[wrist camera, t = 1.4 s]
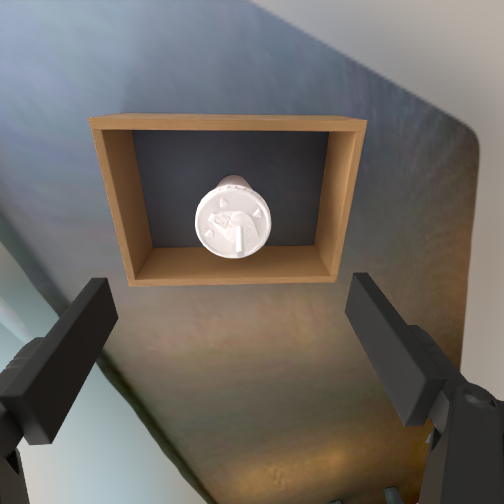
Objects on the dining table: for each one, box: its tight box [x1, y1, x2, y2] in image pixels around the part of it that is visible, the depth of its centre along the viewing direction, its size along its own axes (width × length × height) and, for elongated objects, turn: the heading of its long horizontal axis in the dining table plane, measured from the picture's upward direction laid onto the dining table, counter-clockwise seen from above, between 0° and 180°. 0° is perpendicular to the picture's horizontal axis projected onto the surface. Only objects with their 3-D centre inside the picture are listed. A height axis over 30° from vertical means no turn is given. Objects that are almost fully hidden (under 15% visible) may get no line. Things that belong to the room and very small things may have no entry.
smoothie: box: [195, 175, 271, 258], centre depth 25 cm, size 6×6×14 cm
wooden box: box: [88, 113, 367, 286], centre depth 28 cm, size 16×22×7 cm
